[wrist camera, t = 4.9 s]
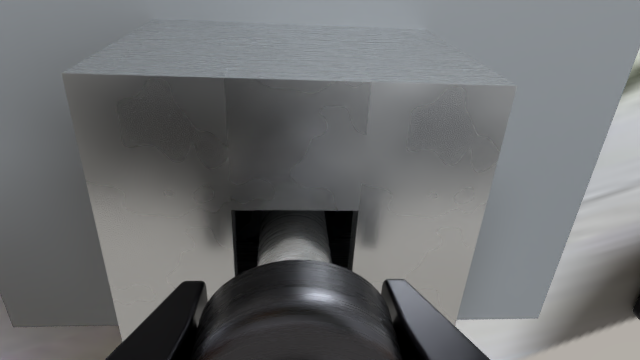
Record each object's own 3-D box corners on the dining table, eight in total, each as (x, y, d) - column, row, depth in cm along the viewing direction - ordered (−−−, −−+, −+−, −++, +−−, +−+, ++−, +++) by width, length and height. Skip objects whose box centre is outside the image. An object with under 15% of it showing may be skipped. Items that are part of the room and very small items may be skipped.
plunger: (391, 79, 13) (554, 292, 5) (371, 240, 15) (458, 541, 8) (191, 73, 12) (32, 298, 5) (206, 240, 15) (121, 561, 7)
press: (426, 29, 13) (516, 86, 8) (393, 244, 17) (441, 379, 12) (154, 19, 13) (61, 73, 7) (181, 245, 17) (132, 388, 11)
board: (659, -108, 13) (699, -114, 12) (521, 294, 21) (537, 318, 20) (-125, -161, 12) (-178, -174, 10) (32, 300, 19) (13, 327, 18)
